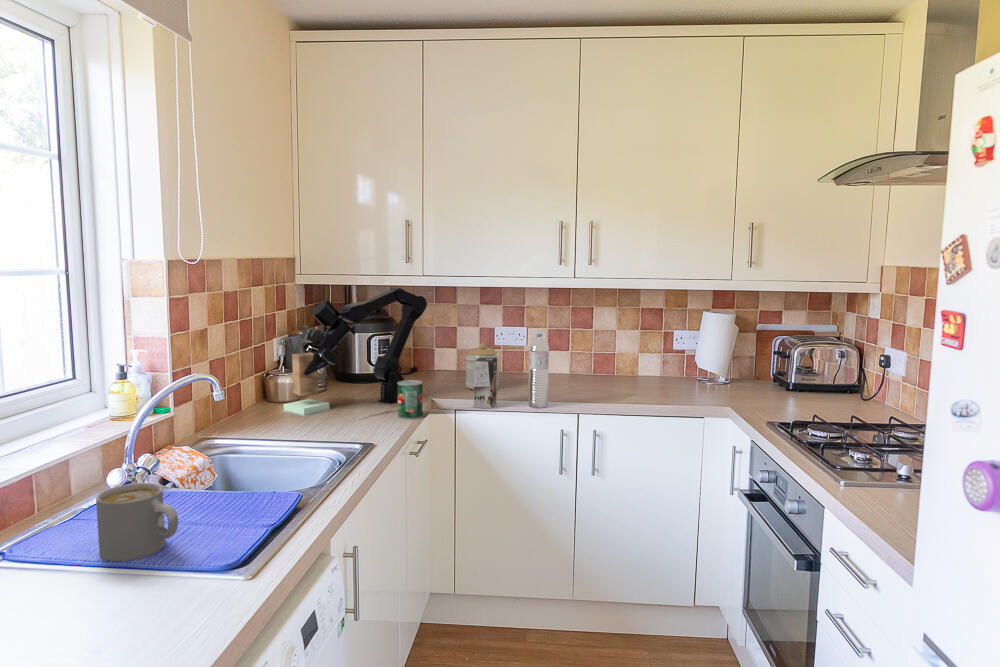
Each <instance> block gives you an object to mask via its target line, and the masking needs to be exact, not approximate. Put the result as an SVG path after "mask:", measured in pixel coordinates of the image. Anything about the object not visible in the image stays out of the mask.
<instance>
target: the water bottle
mask: <svg viewBox="0 0 1000 667" xmlns="http://www.w3.org/2000/svg"><path fill="white" fill-rule="evenodd" d="M542 336H543V333H536V338H535V339H533V340H532V341H531V343H530V344H529V345H528V350H529V351H528V352H529V354H528V355H529V356H528V380H527V382H528V383H527V384H528V387H527V391H528V392H527V403H528V406H529V407H530V408H533V409H534V408H535V409H545V408H546V407H548V405H549V376H550V375H549V374H550V372H549V371H550V369H549V357H550V356H549V351H550V345H549V344H548V342H547V341H546V340H545V339H544V338H543V337H542Z"/></svg>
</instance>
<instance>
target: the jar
mask: <svg viewBox="0 0 1000 667" xmlns="http://www.w3.org/2000/svg"><path fill="white" fill-rule="evenodd" d="M467 353H468V356H466V357H465V360H466V365H465V370H466V371H465V372H466V373H465V376H466V377H465V387H466V386H467V387H470V388H474V361H475V360H477V359H478V358H480V357H482V358H486V357H488V358H497V387H498V388H499V387H500V380H499V379H500V375H499V374H500V365H499V361H500V357H499V356H498V355H497V354H498V351H497V350H495V349H494V348H492V347H487V344H486V343H484V342H480V344H479V347H472V348H471V349H469V350H468V352H467Z"/></svg>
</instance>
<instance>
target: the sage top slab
mask: <svg viewBox="0 0 1000 667" xmlns="http://www.w3.org/2000/svg"><path fill="white" fill-rule="evenodd" d="M328 409H330V402H325V401H320V400H315V399H312V398H311V399H310V398H308V399H303V400H302V399H301V400H297V401H292V402H288V403H283V410H284V411H289V412H293V413H298V414H302V415H306V414H311V413H315V412H320V411H324V410H328ZM328 411H329V410H328ZM324 412H325V411H324ZM320 413H321V412H320ZM311 415H312V414H311Z"/></svg>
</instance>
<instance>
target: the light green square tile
mask: <svg viewBox="0 0 1000 667" xmlns="http://www.w3.org/2000/svg"><path fill="white" fill-rule="evenodd" d="M331 410H332V408H329V409H328V410H324V411H320V412H315V413H311V414H306V415H302V414H298V413H293V412H289V411H284V409H283V410H282V412H284V413H287V414H292V415H296V416H301V417H306V416H311V415H315V414H319V413H323V412H328V411H331Z"/></svg>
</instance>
